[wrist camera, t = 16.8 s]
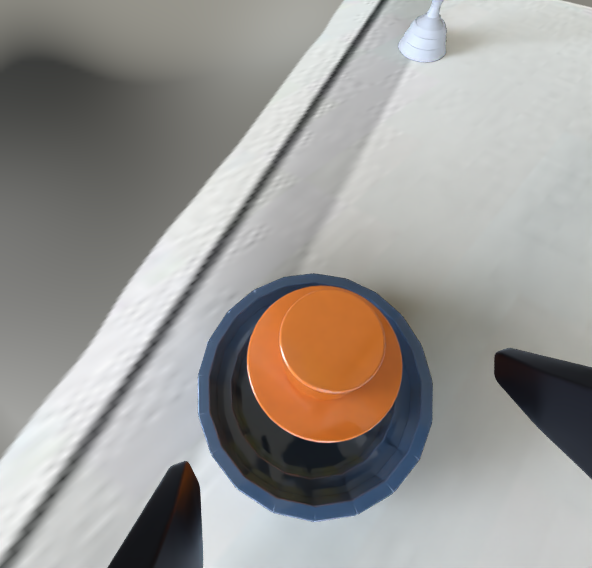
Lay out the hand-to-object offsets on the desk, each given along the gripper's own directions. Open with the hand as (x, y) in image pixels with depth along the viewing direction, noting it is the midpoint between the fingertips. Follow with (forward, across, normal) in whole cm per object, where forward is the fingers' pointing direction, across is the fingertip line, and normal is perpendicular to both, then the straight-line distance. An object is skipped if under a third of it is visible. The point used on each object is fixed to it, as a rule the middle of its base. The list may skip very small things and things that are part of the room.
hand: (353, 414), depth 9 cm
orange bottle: (+9, 0, +6) cm, 11 cm away
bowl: (+9, 0, +6) cm, 11 cm away
